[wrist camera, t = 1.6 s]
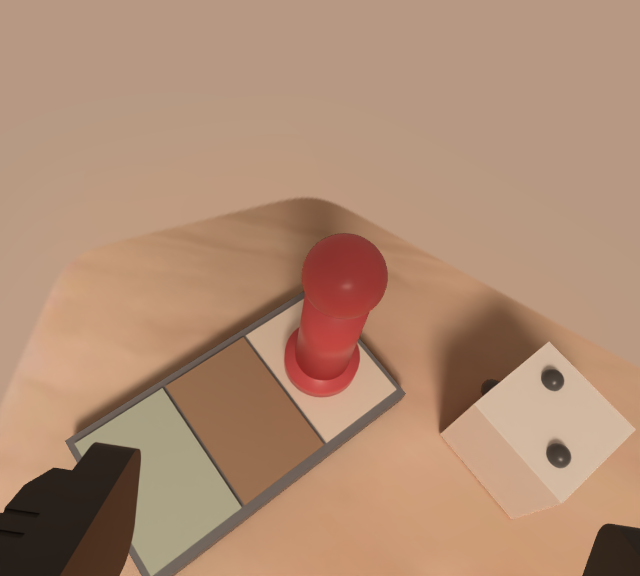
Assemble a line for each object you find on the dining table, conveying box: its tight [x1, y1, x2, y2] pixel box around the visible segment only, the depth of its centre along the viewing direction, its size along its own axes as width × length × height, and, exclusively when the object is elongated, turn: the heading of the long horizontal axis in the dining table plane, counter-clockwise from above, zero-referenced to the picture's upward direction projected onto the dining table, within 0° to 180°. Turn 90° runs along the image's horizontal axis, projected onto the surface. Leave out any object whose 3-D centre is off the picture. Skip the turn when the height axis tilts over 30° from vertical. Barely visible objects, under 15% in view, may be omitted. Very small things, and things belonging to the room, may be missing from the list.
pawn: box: [284, 233, 388, 397], centre depth 29 cm, size 4×4×12 cm
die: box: [440, 342, 636, 520], centre depth 32 cm, size 6×7×7 cm
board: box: [65, 292, 406, 576], centre depth 33 cm, size 17×9×1 cm, turn 128°
